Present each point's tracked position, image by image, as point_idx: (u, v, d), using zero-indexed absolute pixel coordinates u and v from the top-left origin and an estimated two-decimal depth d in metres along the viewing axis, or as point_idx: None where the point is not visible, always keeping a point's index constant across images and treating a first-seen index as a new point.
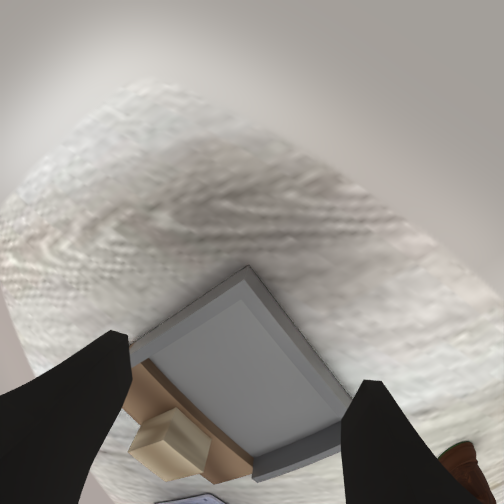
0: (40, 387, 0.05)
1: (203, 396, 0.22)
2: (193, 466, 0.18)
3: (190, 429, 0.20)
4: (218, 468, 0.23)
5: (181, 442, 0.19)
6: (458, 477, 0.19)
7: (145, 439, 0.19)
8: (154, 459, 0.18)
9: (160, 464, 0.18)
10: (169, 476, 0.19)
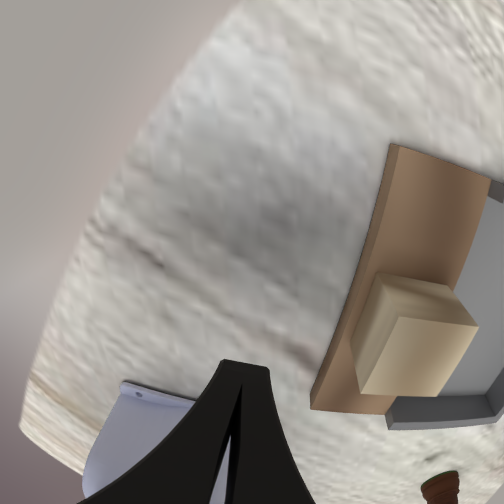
0: (188, 441, 0.05)
1: (459, 292, 0.14)
2: (442, 383, 0.11)
3: None
4: (357, 391, 0.16)
5: None
6: (449, 500, 0.20)
7: (429, 309, 0.11)
8: (418, 350, 0.11)
9: (411, 362, 0.11)
10: (385, 386, 0.12)
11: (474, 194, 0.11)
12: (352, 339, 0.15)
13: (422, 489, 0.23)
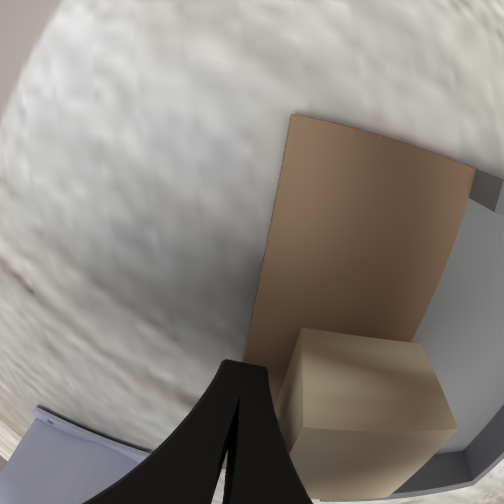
0: (190, 442, 0.05)
1: (423, 342, 0.10)
2: (395, 487, 0.07)
3: None
4: None
5: None
6: None
7: (373, 403, 0.06)
8: (349, 462, 0.06)
9: (339, 473, 0.06)
10: None
11: (444, 195, 0.07)
12: None
13: None
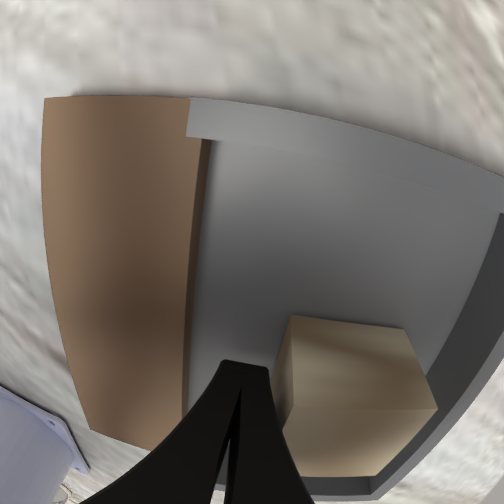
0: (188, 441, 0.05)
1: (232, 312, 0.10)
2: (382, 464, 0.08)
3: None
4: (123, 422, 0.12)
5: None
6: None
7: (358, 384, 0.07)
8: (337, 439, 0.07)
9: (328, 450, 0.07)
10: None
11: (170, 135, 0.07)
12: None
13: None
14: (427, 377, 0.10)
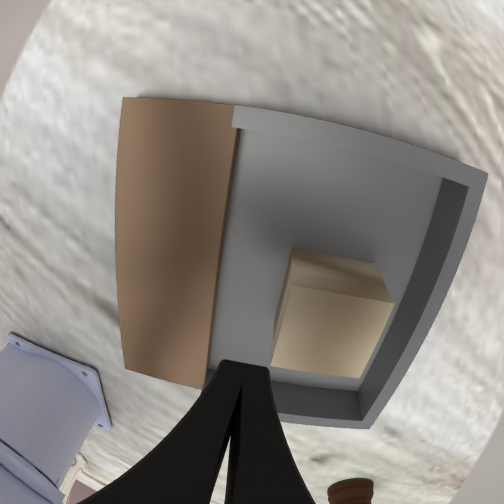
0: (188, 441, 0.05)
1: (251, 250, 0.15)
2: (363, 364, 0.12)
3: None
4: (158, 355, 0.17)
5: None
6: None
7: (336, 282, 0.12)
8: (324, 324, 0.12)
9: (319, 336, 0.12)
10: (295, 360, 0.13)
11: (216, 127, 0.12)
12: (276, 315, 0.16)
13: (328, 494, 0.24)
14: (399, 309, 0.15)
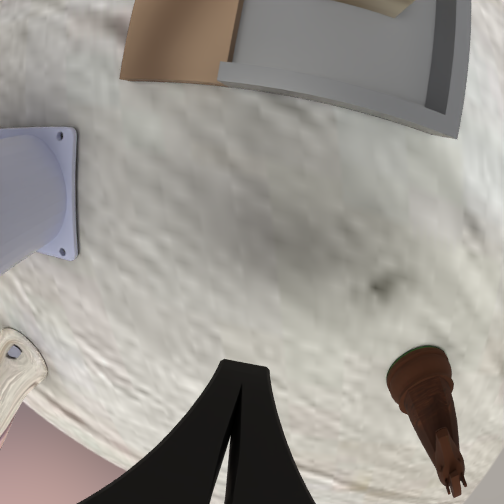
0: (188, 441, 0.05)
1: None
2: None
3: None
4: (170, 38, 0.11)
5: None
6: (436, 393, 0.15)
7: None
8: None
9: None
10: None
11: None
12: None
13: (388, 381, 0.18)
14: (437, 3, 0.10)
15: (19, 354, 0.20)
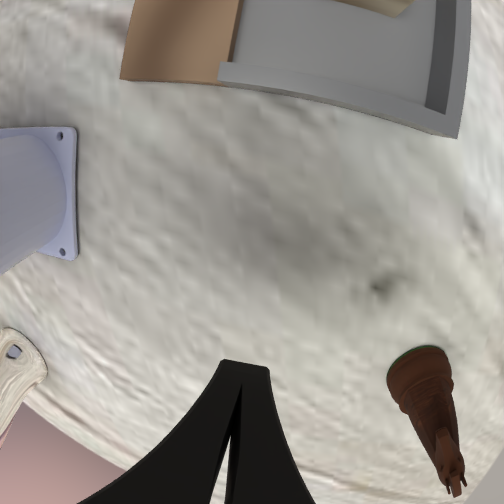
0: (188, 441, 0.05)
1: None
2: None
3: None
4: (170, 38, 0.11)
5: None
6: (436, 393, 0.15)
7: None
8: None
9: None
10: None
11: None
12: None
13: (388, 381, 0.18)
14: (437, 3, 0.10)
15: (19, 354, 0.20)
